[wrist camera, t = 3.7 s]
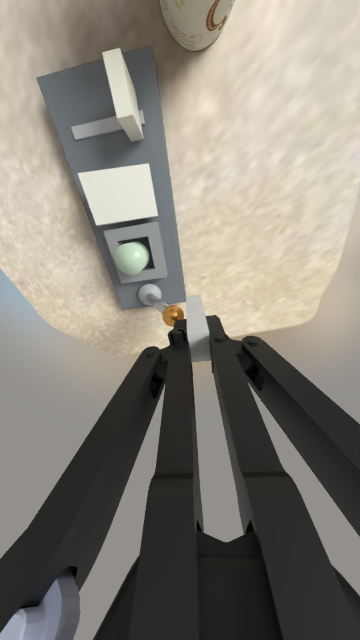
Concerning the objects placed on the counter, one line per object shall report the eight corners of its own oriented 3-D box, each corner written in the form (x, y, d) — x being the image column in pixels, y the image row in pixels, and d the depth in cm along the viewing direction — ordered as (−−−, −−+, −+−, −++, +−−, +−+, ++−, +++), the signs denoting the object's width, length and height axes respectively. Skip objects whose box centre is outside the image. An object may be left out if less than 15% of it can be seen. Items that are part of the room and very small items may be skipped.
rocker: (81, 176, 14) (77, 173, 14) (148, 166, 15) (148, 163, 14) (99, 225, 16) (96, 225, 16) (157, 216, 17) (158, 215, 16)
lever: (140, 291, 20) (165, 314, 14) (156, 287, 21) (186, 306, 15) (145, 306, 22) (170, 333, 15) (159, 301, 22) (189, 325, 16)
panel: (53, 95, 15) (16, 57, 11) (156, 68, 14) (147, 18, 10) (126, 304, 26) (118, 315, 23) (185, 296, 25) (186, 307, 22)
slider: (121, 94, 13) (102, 52, 10) (135, 90, 13) (119, 47, 10) (131, 141, 14) (117, 118, 11) (143, 138, 14) (132, 114, 11)
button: (120, 243, 18) (109, 246, 15) (146, 239, 17) (139, 241, 15) (128, 270, 19) (120, 276, 17) (152, 266, 19) (147, 273, 16)
